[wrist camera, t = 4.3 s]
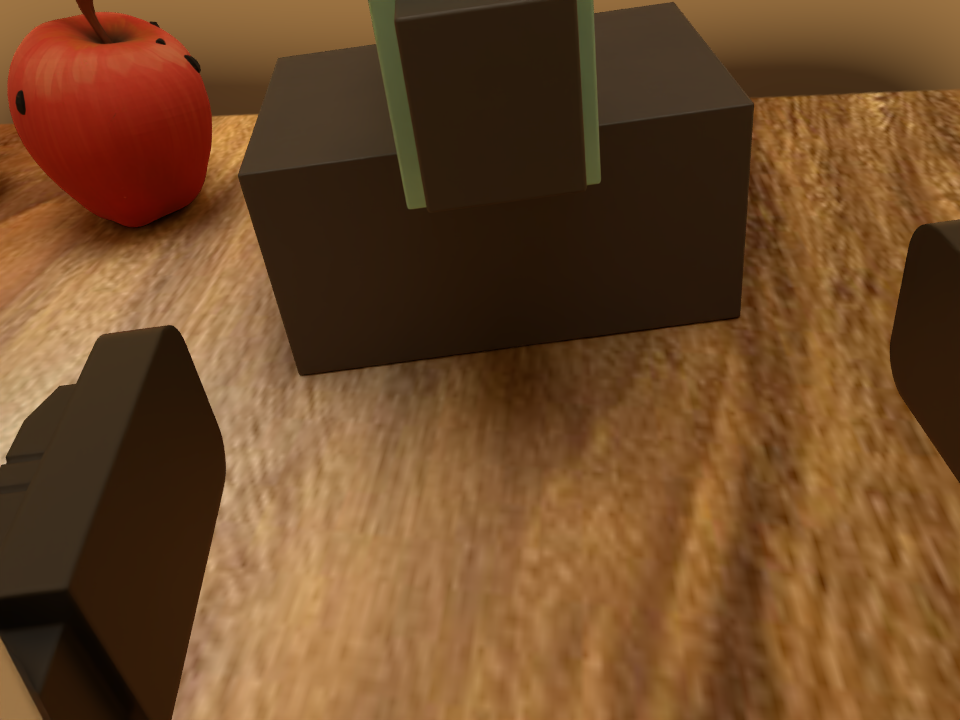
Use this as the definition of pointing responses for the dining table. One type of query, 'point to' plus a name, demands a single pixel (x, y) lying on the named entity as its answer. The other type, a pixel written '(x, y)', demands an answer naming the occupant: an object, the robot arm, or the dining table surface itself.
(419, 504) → the dining table surface
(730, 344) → the dining table surface
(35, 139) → the apple
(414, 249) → the stand
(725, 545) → the dining table surface
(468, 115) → the green block
